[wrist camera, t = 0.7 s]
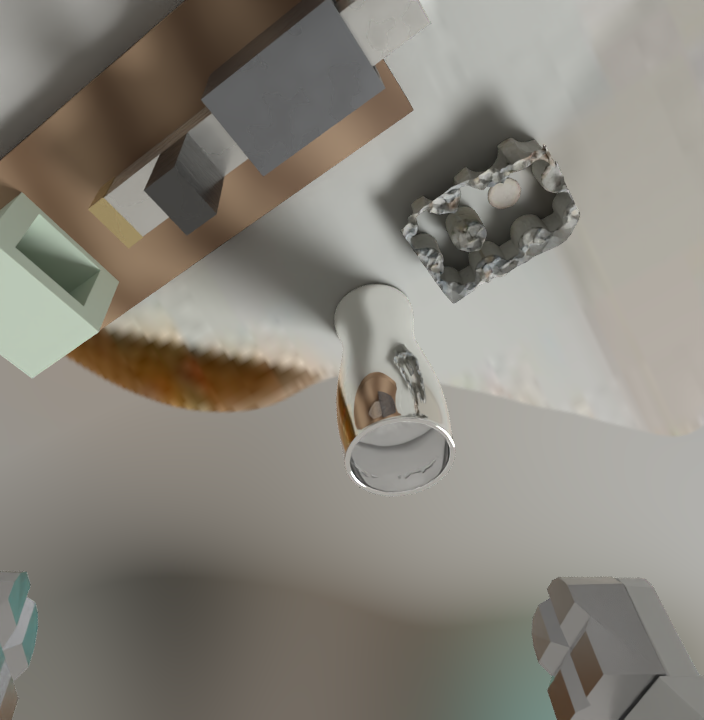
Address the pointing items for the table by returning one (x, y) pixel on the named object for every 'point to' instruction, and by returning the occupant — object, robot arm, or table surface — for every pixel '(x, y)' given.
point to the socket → (46, 289)
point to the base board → (153, 124)
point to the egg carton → (470, 232)
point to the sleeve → (291, 84)
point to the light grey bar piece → (224, 142)
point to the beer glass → (388, 397)
